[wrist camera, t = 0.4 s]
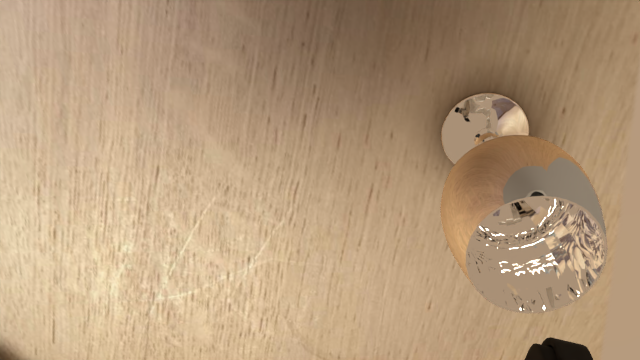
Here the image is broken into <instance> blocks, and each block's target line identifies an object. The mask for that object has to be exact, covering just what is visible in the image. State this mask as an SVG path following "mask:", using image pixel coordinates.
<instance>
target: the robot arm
mask: <svg viewBox="0 0 640 360" xmlns="http://www.w3.org/2000/svg"><path fill="white" fill-rule="evenodd" d="M525 360H593V358H592V356H591V354H590V352H589V350H588V349H587V347H586V346H584V345H581V344H576V343H572V342H568V341H563V340H559V339H555V338H547V339H546V340H544V341H543V343H542V345H540V344H533V345H532V346H531V348H530V349H529V351H528V353H527V356H526V358H525Z"/></svg>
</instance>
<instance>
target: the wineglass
mask: <svg viewBox="0 0 640 360" xmlns="http://www.w3.org/2000/svg"><path fill="white" fill-rule="evenodd" d="M441 143H442V148H443V150H444V152H445V154H446V156H447V157H448V159H449V160H450V161H451V162H452V163H453V164H454V167H453V168H452V169H451V171H450V173H449V175H448V177H447V179H446V181H445V184H444V188H443V192H442V198H441V207H440V213H441V221H442V226H443V231H444V234H445V237H446V240H447V243H448V246H449V248H450V250H451V252H452V254H453V256H454V258H455V260H456V261H457V263H458V264H459V266H460V268H461V269H462V271H463V273H464V274H465V275H466V277H467V278H468V279H469V281H470V282H471V283H472V285H473V286H474V287H475V289H476V290H477V291H478V292H479V293H480V294H481V295H482V296H483V297H484V298H485V299H486V300H488V301H489V302H491V303H493V304H494V305H496V306H498V307H501V308H503V309H506V310H510V311H514V312H520V313H542V312H547V311H552V310H556V309H558V308H561V307H564V306H567V305H569V304H570V303H572V302H574V301H576V300H577V299H579V298H580V297H582V296H583V295H584V294H585V293H586V292H588V291H589V290H590V289H591V288H592V286H593V285H594V284H595V282H596V281H597V280H598V279H599V277H600V275H601V273H602V270H603V268H604V266H605V263H606V256H607V239H606V228H605V223H604V218H603V213H602V209H601V205H600V202H599V199H598V196H597V194H596V191H595V189H594V187H593V185H592V183H591V181H590V179H589V177H588V176H587V174H586V173H585V171H584V170H583V168H582V167H581V166H580V164H579V163H578V162H577V161H576V160H575V159H574V158H573V157H572V156H570V155H569V154H568V153H566V152H565V151H564V150H562V149H561V148H560V147H558V146H557V145H555V144H553V143H551V142H549V141H547V140H544V139H541V138H538V137H534V136H529V122H528V119H527V116H526V114H525V112H524V111H523V109H522V108H521V107H520V105H519V104H518V103H516V102H515V101H513V100H512V99H510V98H509V97H507V96H504V95H501V94H498V93H480V94H475V95H472V96H470V97H467V98H465V99H463V100H462V101H460V102H459V103H457V104H456V105H455V106H454V107H453V108H452V109H451V110H450V112H449V113H448V115H447V116H446V118H445V120H444V122H443V125H442V130H441Z"/></svg>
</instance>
